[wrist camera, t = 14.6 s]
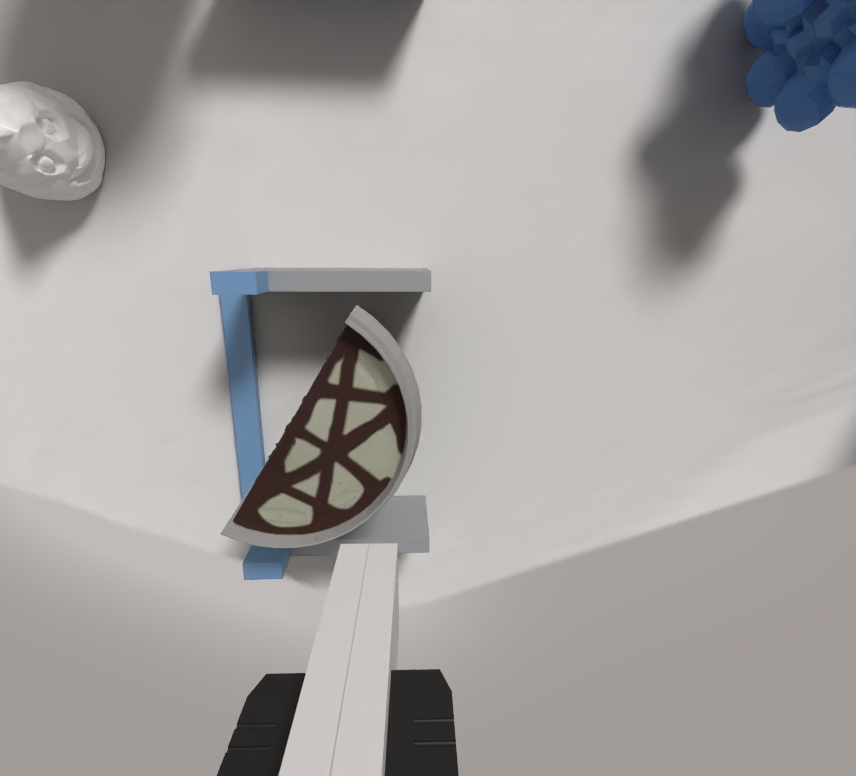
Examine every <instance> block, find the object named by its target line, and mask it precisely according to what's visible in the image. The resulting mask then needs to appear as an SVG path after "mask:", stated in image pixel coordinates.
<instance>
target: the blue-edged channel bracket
mask: <svg viewBox="0 0 856 776" xmlns="http://www.w3.org/2000/svg"><path fill="white" fill-rule="evenodd" d="M210 279H211V288H212V295H220V299H221V308H222V317H223V326H224V336H225V345H226V354H227V363H228V372H229V382H230V391H231V400H232V409H233V418H234V428H235V437H236V446H237V455H238V465H239V474H240V483H241V492H242V500H243V498H244V497H245V495H246V494H247V492H248V490H249V489H250V487H251V486H252V484H253V483H254V481H255V480H256V478H257V476H258V475H259V473H260V472H261V470H262V469H263V467H264V466H265V456H264V445H263V434H262V423H261V413H260V402H259V391H258V380H257V369H256V358H255V348H254V337H253V326H252V315H251V304H250V295H258V294H262V293H265V292H269V291H277V292H431V271H430V270H428V269H370V268H250V269H238V270H225V271H213V272H210ZM379 543H398V553H425V552H429V529H428V519H427V509H426V499H425V496H392V497H391V498H390V500H389V501H388V502H387V503H386V505H385V506H384V507H382V508H381V509H380V510H379V511H378V512H377V513H376V514H375V515H374V516H373V517H372V518H370V519H369V520H367V521H366V522H364V523H363V524H361V525H360V526H358V527H357V528H355V529H353V530H352V531H350V532H348V533H346V534H344V535H342V536H340V537H338V538H335V539H333V540H330V541H326V542H323V543H320V544H317V545H311V546H305V547H298V548H271V547H262V546H256V545H252V546H251V548H250V550H249V552H248V554H247V556H246V558H245V560H244V562H243V571H244V580H254V579H282V578H283V576H284V573H285V570H286V568H287V565H288V562H289V559H290V557H291V556H315V555H338V552H339V548H340V544H379Z"/></svg>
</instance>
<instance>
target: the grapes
mask: <svg viewBox="0 0 856 776" xmlns="http://www.w3.org/2000/svg"><path fill="white" fill-rule="evenodd" d="M744 29H745V33H746V36H747V40H748V41H749V42H750V43H751V44H752V45H753V46H754V47H755V48H756V49H765V50H764V51H763V52H762V53H761V54H760V55H759V56H758V57H757V58H756V60H755V62H754V63H753V65H752V66H751V68H750V69H749V71H748V73H747V76H746V90H747V93H748V96H749V99H750V100H751V101H752V102H753V103H754V104H755V105H756V106H758V107H772V106H774V105H775V106H774V112H775V115H776V119H777V122H778V123H779V124H780V125H781V126H782V127H783V128H784V129H785V130H786V131H795V132H801V131H803V130H806V129H808V128H811V127H813V126H815V125H817V124H819V123H820V122H821V121H822V120H823V119H824V118H825V117H827V116H828V115H829V114H830V113H831V112H832V111H833V110H834V109H835V107H836V106H838V107H845V108H856V0H753V1H752V2H751V4H750V6H749V7H748V9H747V11H746V13H745V15H744Z"/></svg>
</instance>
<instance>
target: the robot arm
mask: <svg viewBox="0 0 856 776" xmlns="http://www.w3.org/2000/svg"><path fill="white" fill-rule="evenodd" d="M398 637H399V604H398V543H379V544H340V548H339V552H338V555H337V559H336V563H335V567H334V570H333V574H332V578H331V582H330V585H329V589H328V593H327V596H326V601H325V604H324V608H323V611H322V615H321V619H320V623H319V627H318V630H317V634H316V638H315V641H314V645H313V649H312V653H311V657H310V660H309V664H308V667H307V671H306V673H292V674H290V673H289V674H266V675H265V676H264V678H263V679H262V680H261V681H260V682H259V683H258V685H257V686H256V687H255V688H254V690H253V691H252V692H251V693H250V694H249V695H248V697H247V699H246V702H245V704H244V707H243V709H242V712H241V715H240V717H239V720H238V723H237V728H236V729H235V730H234V733H233V735H232V738H231V741H230V743H229V746H228V751H227V753H226V754H225V756H224V758H223V761H222V764H221V766H220V769H219V771H218V774H217V776H458V764H457V752H456V740H455V727H454V714H453V704H452V703H453V702H452V691H451V689H450V687H449V686H448V684H447V682H446V680H445V678H444V676H443V674H442V673H441V671H440V669H439V670H438V669H435V670H434V669H433V670H397V658H398Z"/></svg>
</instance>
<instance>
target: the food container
mask: <svg viewBox="0 0 856 776" xmlns="http://www.w3.org/2000/svg"><path fill="white" fill-rule="evenodd" d="M345 323H346V324H347V326H346V328H345V330H344V332H343V333H342V335H341V336H340V337H339V338H338V341H337V343H336V345H335V347H334V349H333V350H332V352H331V354H330V355H329V356H328V357H327V359H326V362H325V363H324V365H323V366H322V369H321V371H320V372H319V374H318V376H317V378H316V379H315V381H314V382H313V385H312V386H311V388H310V390H309V392H308V393H307V395H306V396H305V397H304V398H303V400H302V404H301V405H300V407H299V409H298V410H297V412H296V414H295V416H294V417H293V418H292V421H291V422H290V423H289V424H288V425H287V426H286V429H285V432H284V434H283V436H282V437H281V439H280V441H279V443H277V444H276V448H275V450H273V452H272V454H271V455H270V456H269V459H268V461H267V462H266V464H265V466H264V467H263V469H262V470H261V472H260V473H259V475H258V476H257V478H256V480H255V481H254V483H253V484H252V486H251V487H250V489H249V490H248V492H247V494H246V495H245V497H244V498H243V500H242V501H241V503H240V504H239V506H238V508H237V509H236V511H235V512H234V514H233V515H232V517H231V518H230V520H229V522H228V523H227V525H226V526H225V528H224V529H223V531H222V532H221V534H222V535H224V536H227V537H229V538H232V539H234V540H237V541H240V542H244V543H248V544H252V545H256V546H262V547H271V548H298V547H305V546H311V545H317V544H320V543H323V542H326V541H330V540H333V539H335V538H338V537H340V536H342V535H344V534H346V533H348V532H350V531H352V530H353V529H355V528H357V527H358V526H360V525H361V524H363V523H364V522H366V521H367V520H369V519H370V518H372V517H373V516H374V515H375V514H376V513H377V512H378V511H379V510H380V509H381V508H382V507H384V506H385V505H386V503H387V502H388V501H389V500H390V498H391V497H392V496H393V495H394V493H395V492H396V491H397V489H398V488H399V486H400V484H401V482H402V480H403V479H404V477H405V475H406V473H407V471H408V469H409V467H410V465H411V463H412V461H413V458H414V455H415V452H416V449H417V447H418V443H419V437H420V431H421V402H420V396H419V389H418V385H417V382H416V379H415V376H414V373H413V371H412V368H411V366H410V364H409V362H408V360H407V358H406V356H405V354H404V352H403V351H402V349H401V348H400V346H399V345H398V344H397V342H396V341H395V340H394V338H393V337H392V336H391V334H390V333H389V332H388V331H387V330H386V329H385V328H384V327H383V326H382V325H381V324H380V323H379V322H378V321H377V320H376V319H375V318H374V317H373V316H372V315H370V314H369V313H367V312H366V311H365V310H363V309H362V308H361V307H359V306H358V305H356V306H355V308H354V309H353V311H352V312H351V313H350V315H349V317H348V318H347V320H346V321H345Z"/></svg>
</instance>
